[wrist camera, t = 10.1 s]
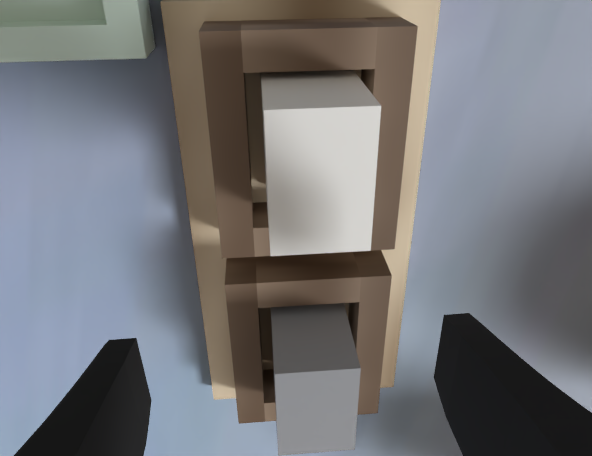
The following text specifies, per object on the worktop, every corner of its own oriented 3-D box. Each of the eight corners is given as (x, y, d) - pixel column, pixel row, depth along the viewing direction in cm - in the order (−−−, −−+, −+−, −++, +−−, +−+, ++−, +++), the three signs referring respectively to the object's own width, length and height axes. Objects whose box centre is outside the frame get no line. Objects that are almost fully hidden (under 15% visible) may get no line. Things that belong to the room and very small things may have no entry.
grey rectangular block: (273, 361, 24) (278, 455, 19) (269, 286, 22) (274, 374, 17) (335, 357, 24) (354, 449, 20) (338, 283, 22) (360, 368, 17)
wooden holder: (214, 386, 25) (211, 434, 23) (163, -2, 16) (149, 10, 14) (389, 375, 26) (403, 419, 24) (433, -7, 17) (464, 3, 15)
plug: (265, 184, 19) (270, 256, 15) (260, 66, 17) (263, 110, 13) (343, 180, 19) (370, 251, 15) (348, 63, 17) (381, 105, 13)
